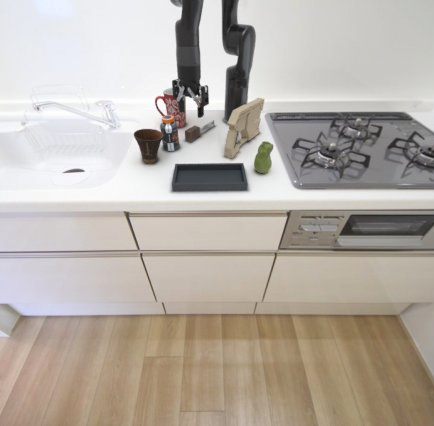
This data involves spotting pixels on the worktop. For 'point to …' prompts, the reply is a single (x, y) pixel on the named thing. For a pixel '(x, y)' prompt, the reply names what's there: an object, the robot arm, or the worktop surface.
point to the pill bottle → (169, 133)
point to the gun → (243, 125)
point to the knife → (197, 131)
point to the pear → (263, 157)
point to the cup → (148, 144)
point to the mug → (172, 107)
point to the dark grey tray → (209, 177)
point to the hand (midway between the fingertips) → (191, 114)
